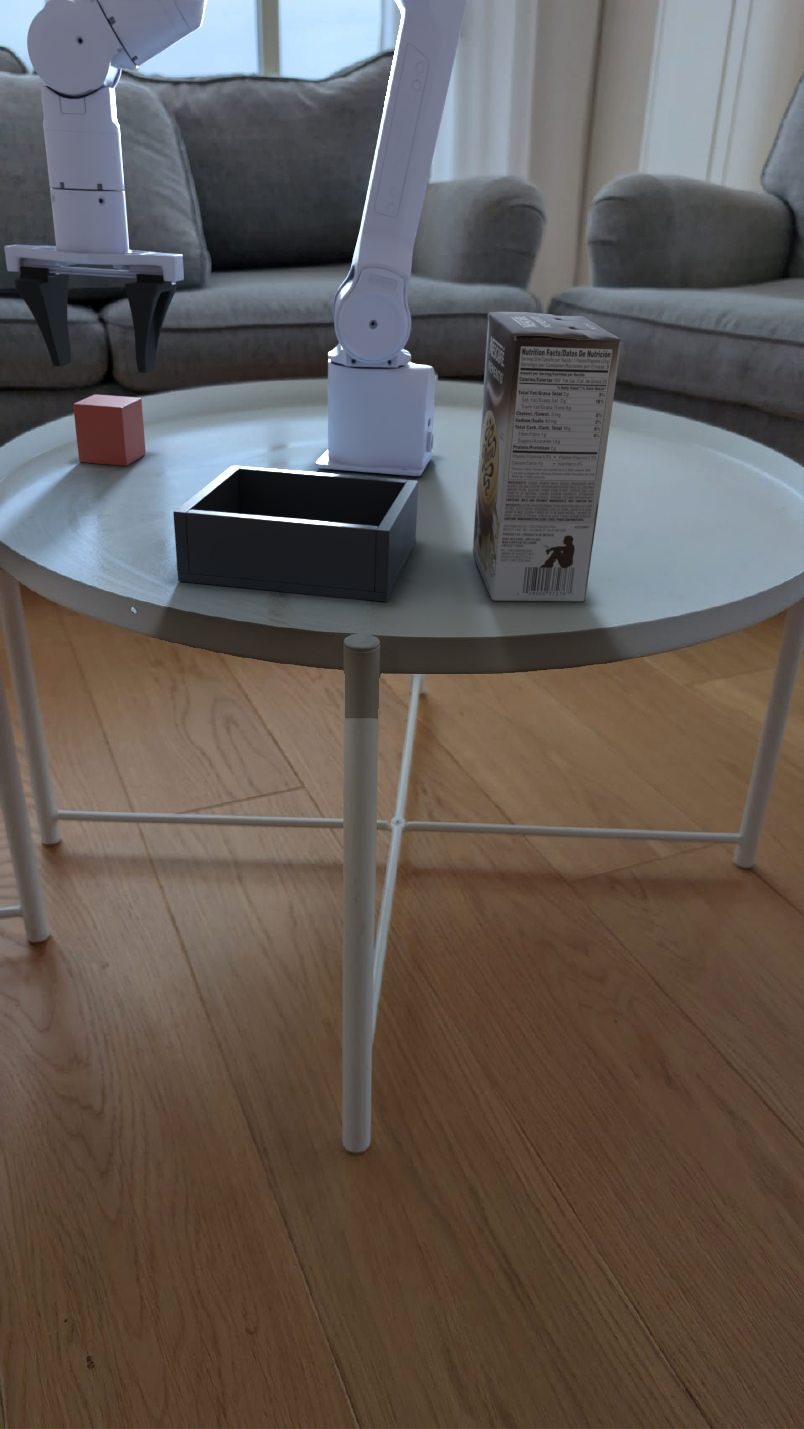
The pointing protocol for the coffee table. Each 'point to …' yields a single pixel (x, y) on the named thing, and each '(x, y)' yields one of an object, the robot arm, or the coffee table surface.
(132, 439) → the block
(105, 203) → the robot arm
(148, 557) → the coffee table surface
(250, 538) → the open box
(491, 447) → the grey cardboard tall box
